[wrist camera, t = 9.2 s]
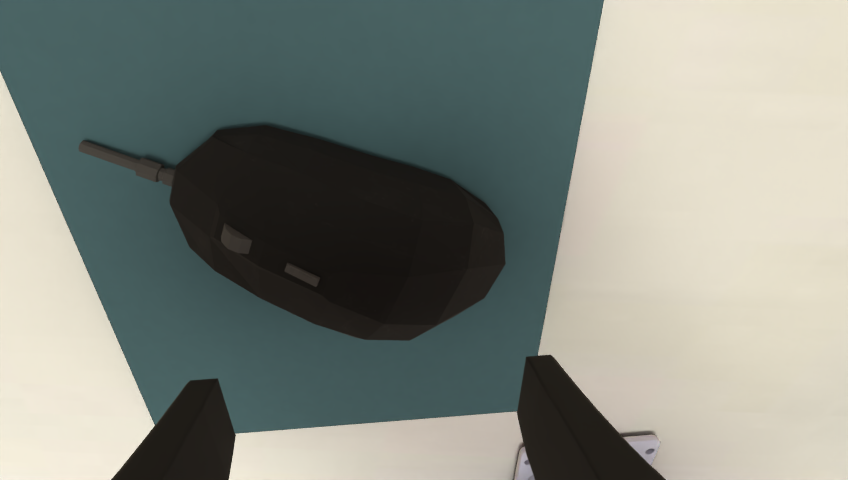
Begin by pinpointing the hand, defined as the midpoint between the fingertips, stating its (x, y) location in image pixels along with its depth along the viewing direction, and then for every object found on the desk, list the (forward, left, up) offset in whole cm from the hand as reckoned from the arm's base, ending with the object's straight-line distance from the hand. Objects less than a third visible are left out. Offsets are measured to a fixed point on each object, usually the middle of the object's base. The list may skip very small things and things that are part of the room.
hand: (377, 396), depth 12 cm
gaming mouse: (+1, +2, -8) cm, 9 cm away
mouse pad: (+1, +2, -8) cm, 8 cm away
